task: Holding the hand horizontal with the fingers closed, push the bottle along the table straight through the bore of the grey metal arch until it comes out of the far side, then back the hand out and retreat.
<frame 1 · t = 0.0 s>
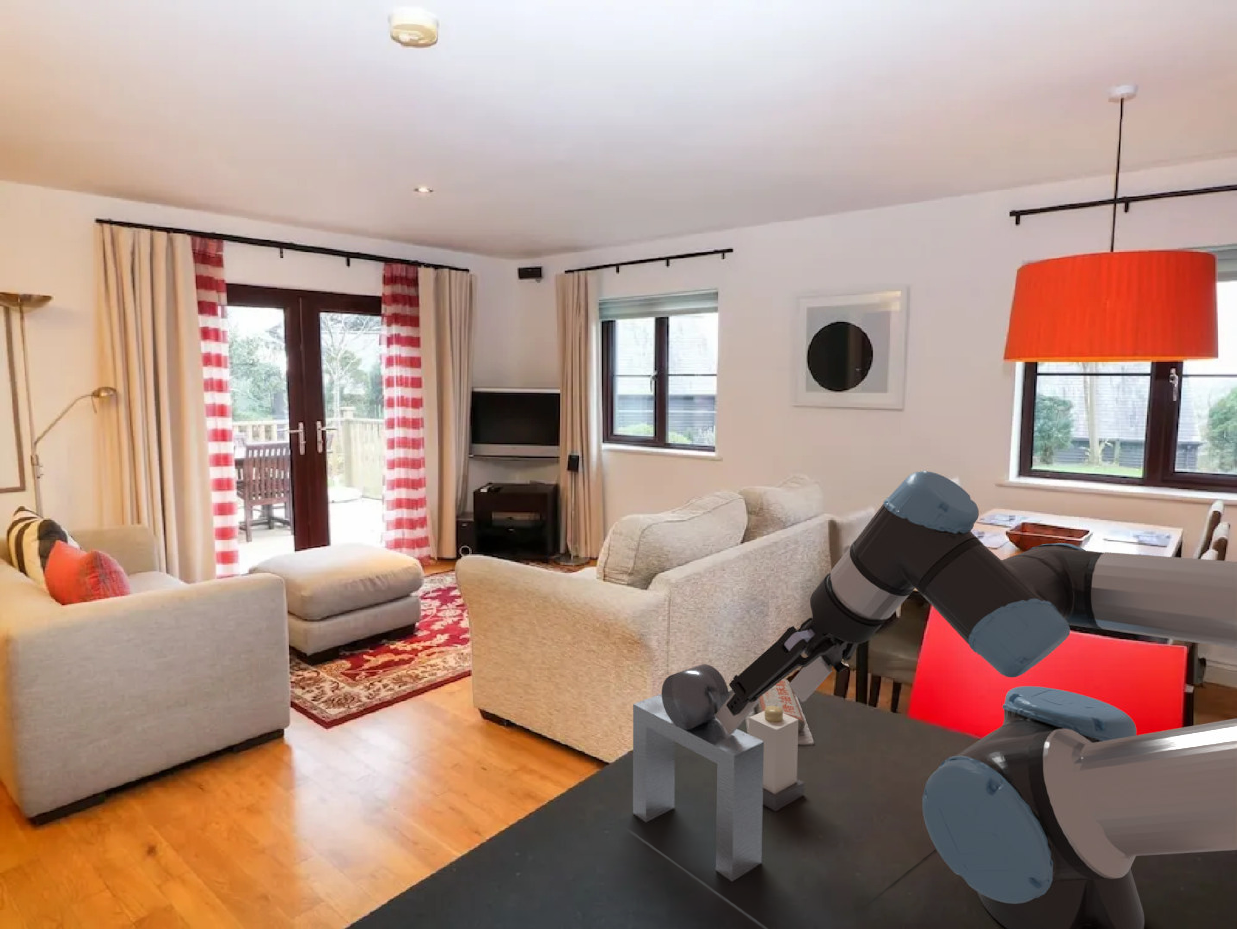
hand: (761, 708, 90), 16 cm above the table, tool tilted 35°, fingers open, 13 cm apart
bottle: (772, 751, 99), point 6 cm above the table, slide at 0.0 cm
packaged product: (774, 723, 122), on the table
grey metal arch: (693, 838, 90), on the table
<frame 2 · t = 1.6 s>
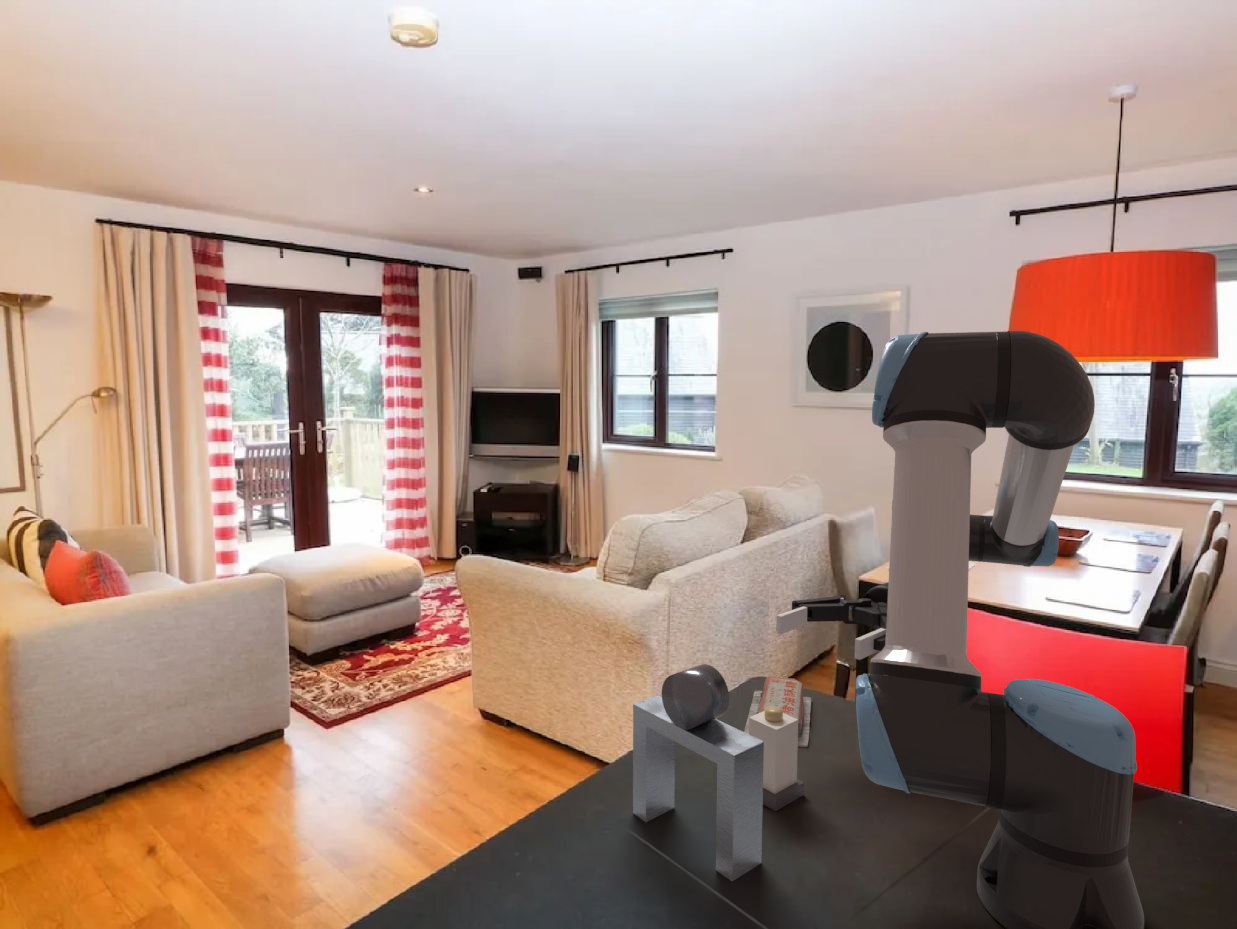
hand: (815, 636, 103), 20 cm above the table, tool horizontal, fingers open, 12 cm apart
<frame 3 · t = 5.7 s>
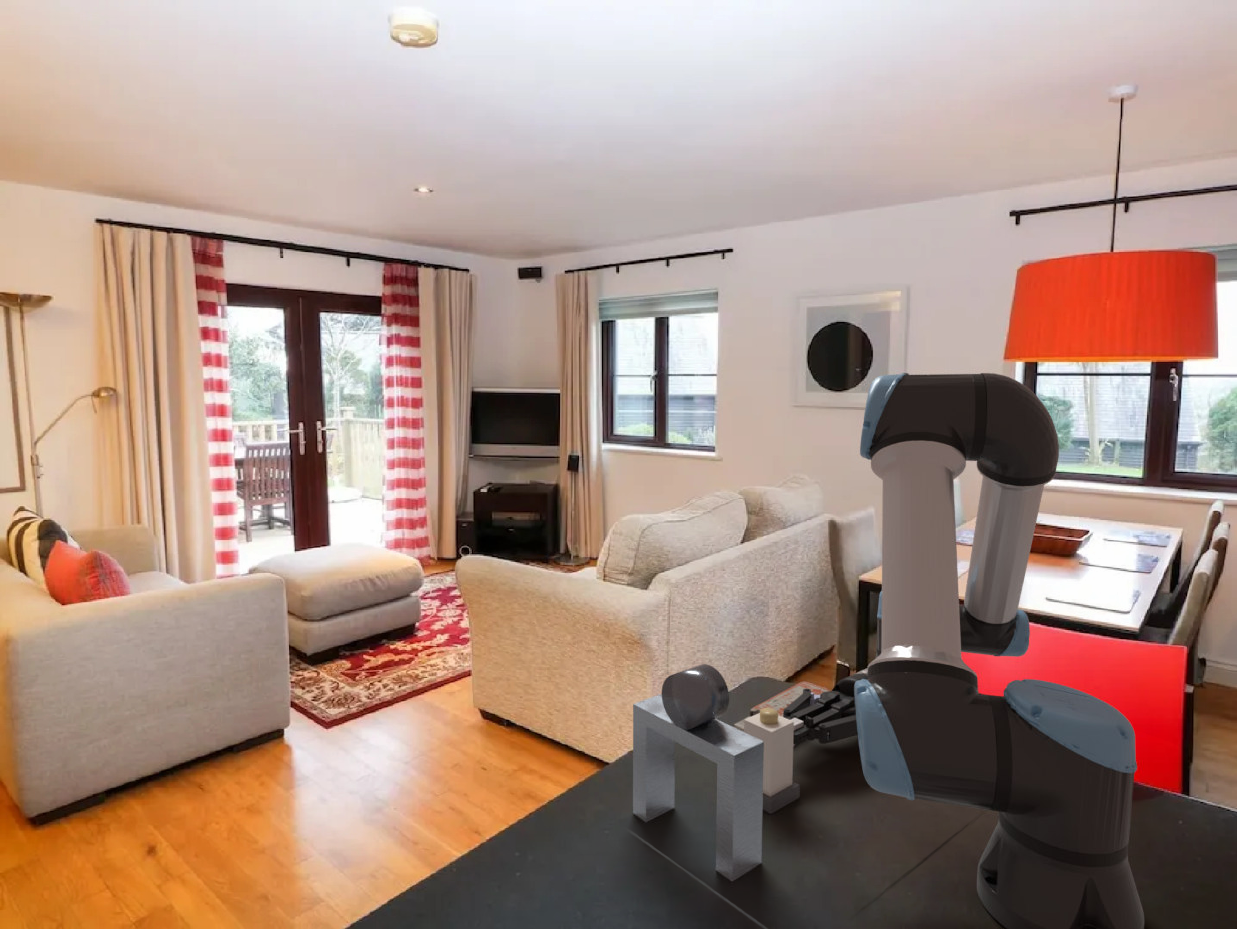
hand: (769, 742, 101), 6 cm above the table, tool horizontal, fingers closed
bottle: (768, 754, 98), point 6 cm above the table, slide at 1.0 cm, touching gripper
packaged product: (790, 727, 121), on the table
everything else where it was.
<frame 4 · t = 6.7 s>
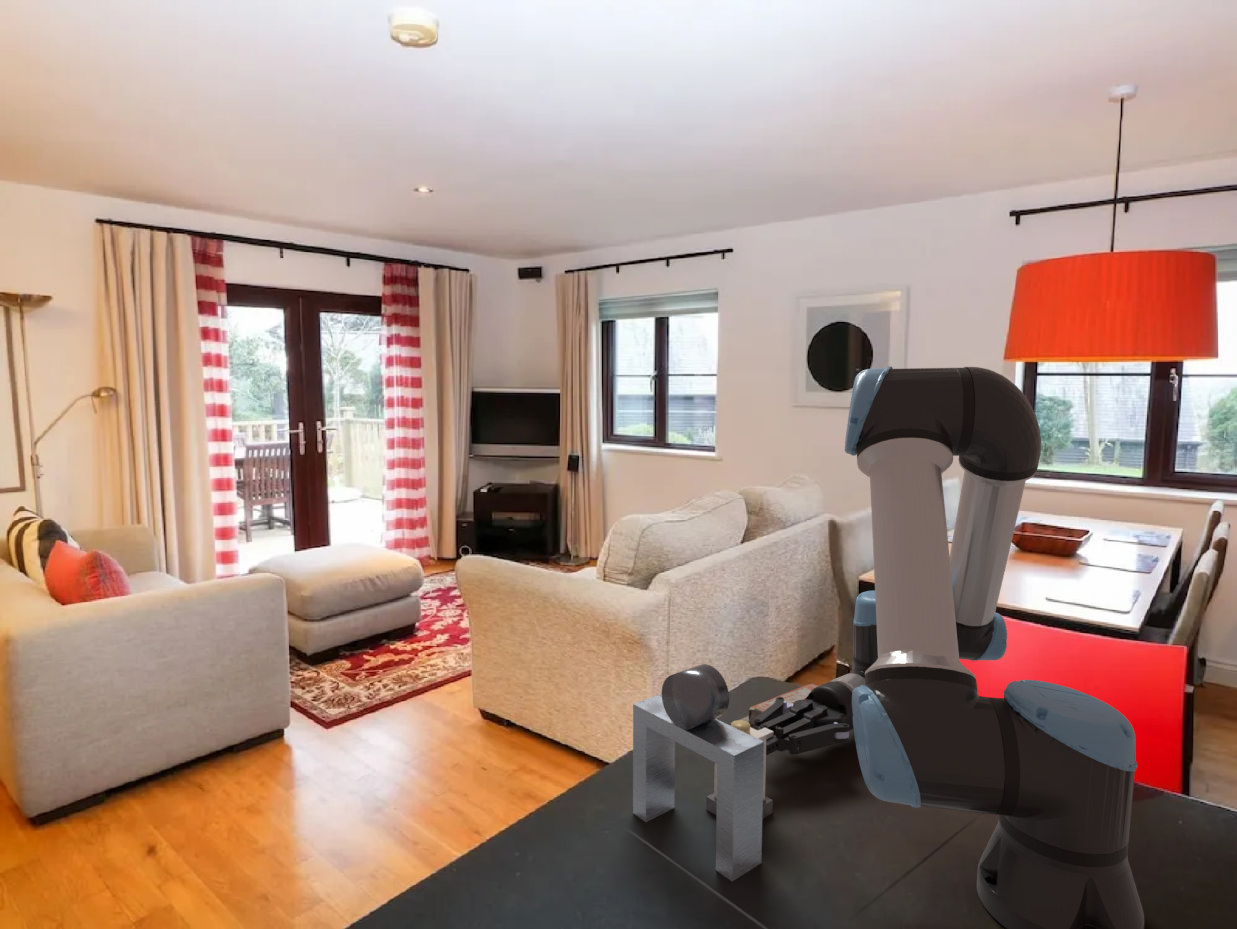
hand: (737, 753, 98), 6 cm above the table, tool horizontal, fingers closed
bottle: (739, 768, 94), point 6 cm above the table, slide at 6.7 cm, touching gripper
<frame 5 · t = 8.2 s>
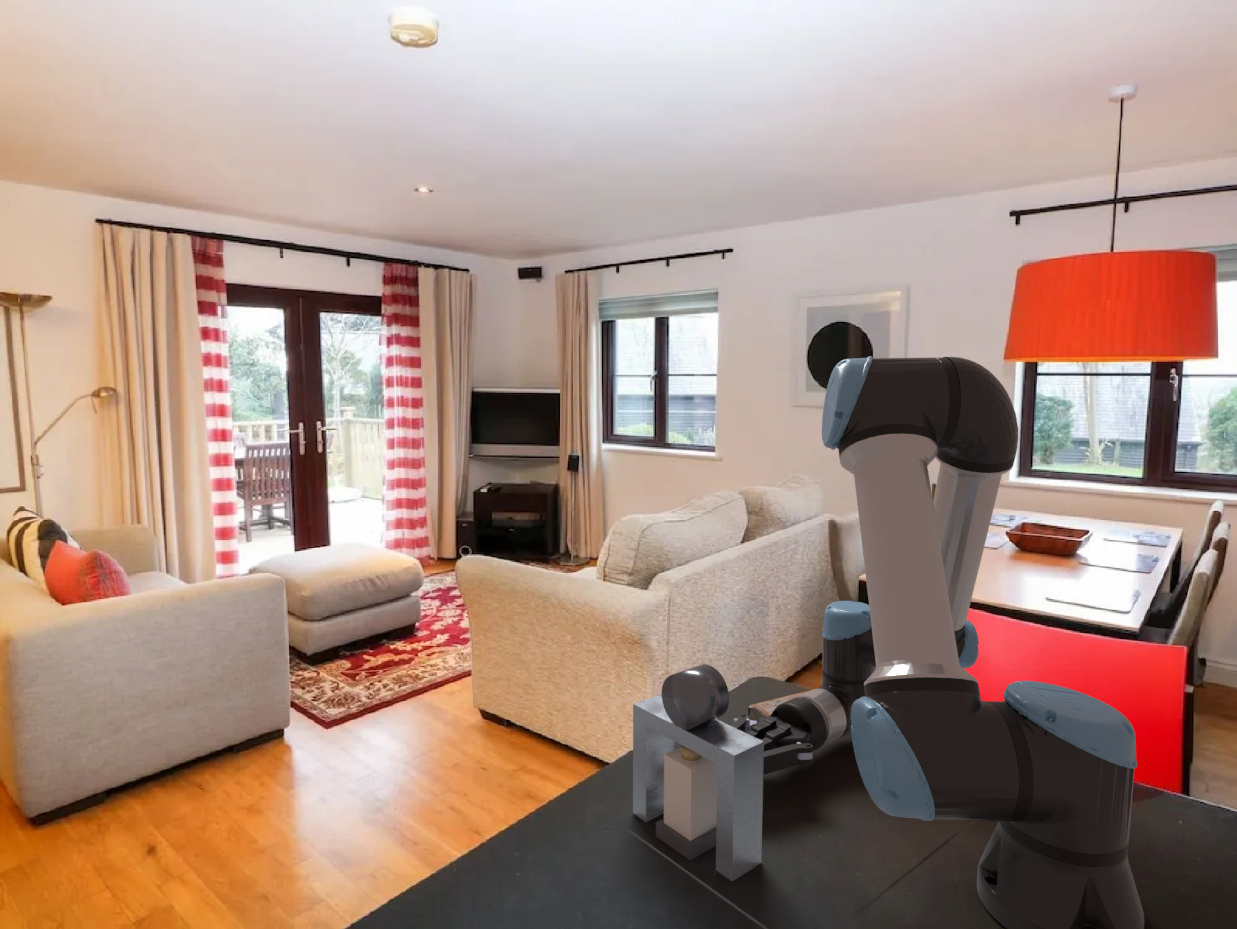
hand: (691, 776, 92), 6 cm above the table, tool horizontal, fingers closed
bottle: (690, 792, 89), point 6 cm above the table, slide at 15.6 cm
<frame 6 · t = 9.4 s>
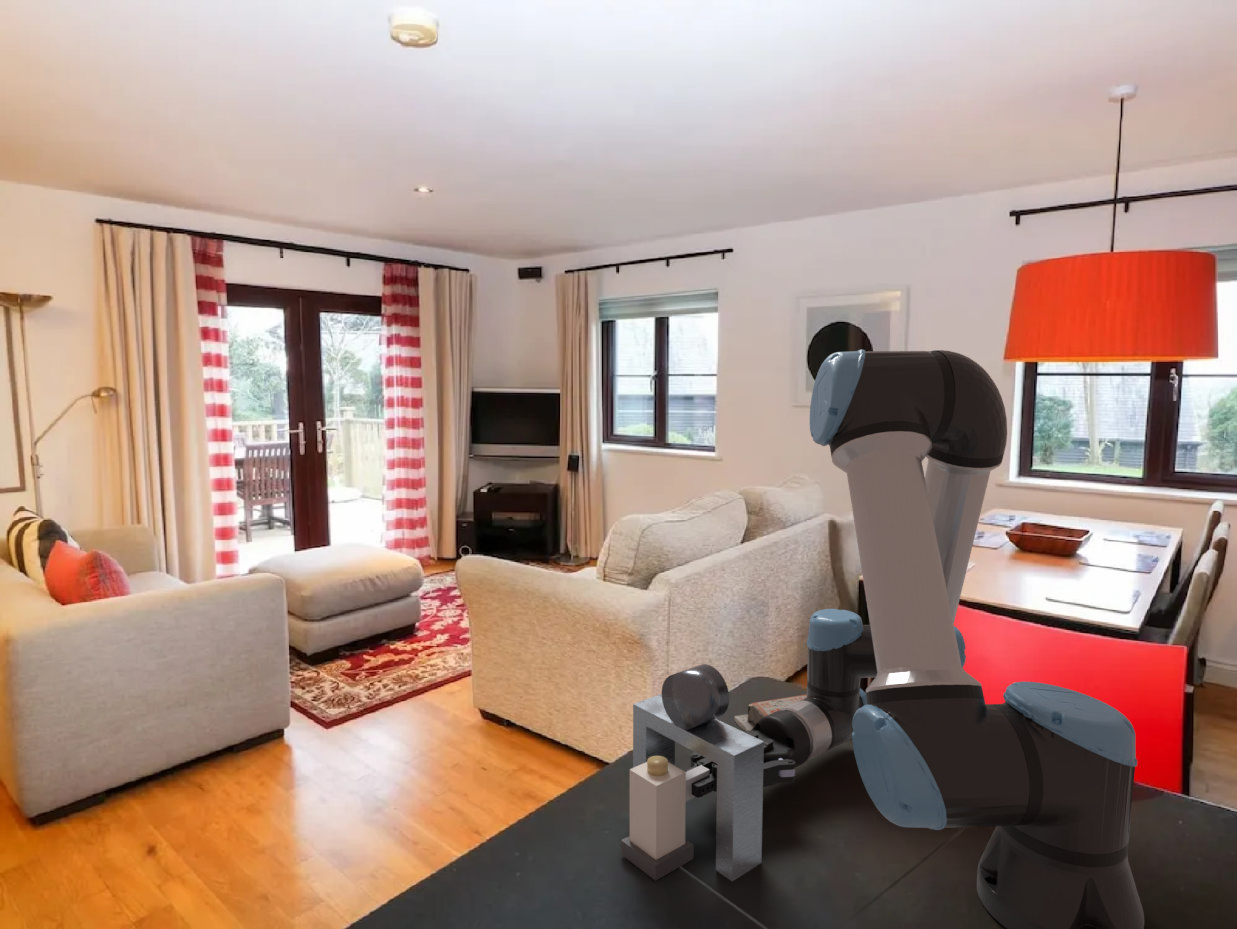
hand: (667, 795, 88), 6 cm above the table, tool horizontal, fingers closed
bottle: (657, 809, 85), point 6 cm above the table, slide at 21.1 cm, touching gripper
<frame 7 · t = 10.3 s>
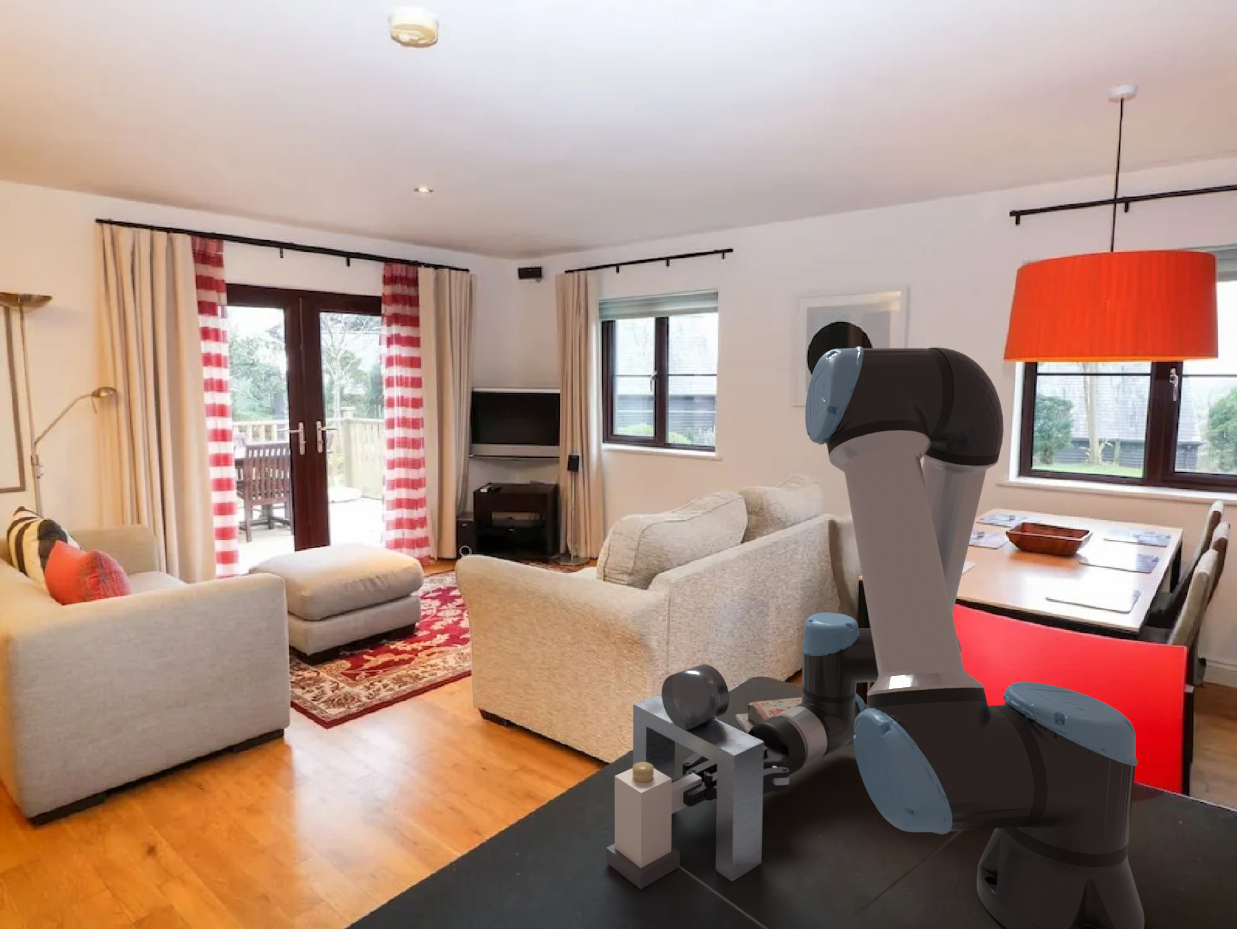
hand: (658, 805, 86), 6 cm above the table, tool horizontal, fingers closed
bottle: (643, 816, 84), point 6 cm above the table, slide at 23.3 cm
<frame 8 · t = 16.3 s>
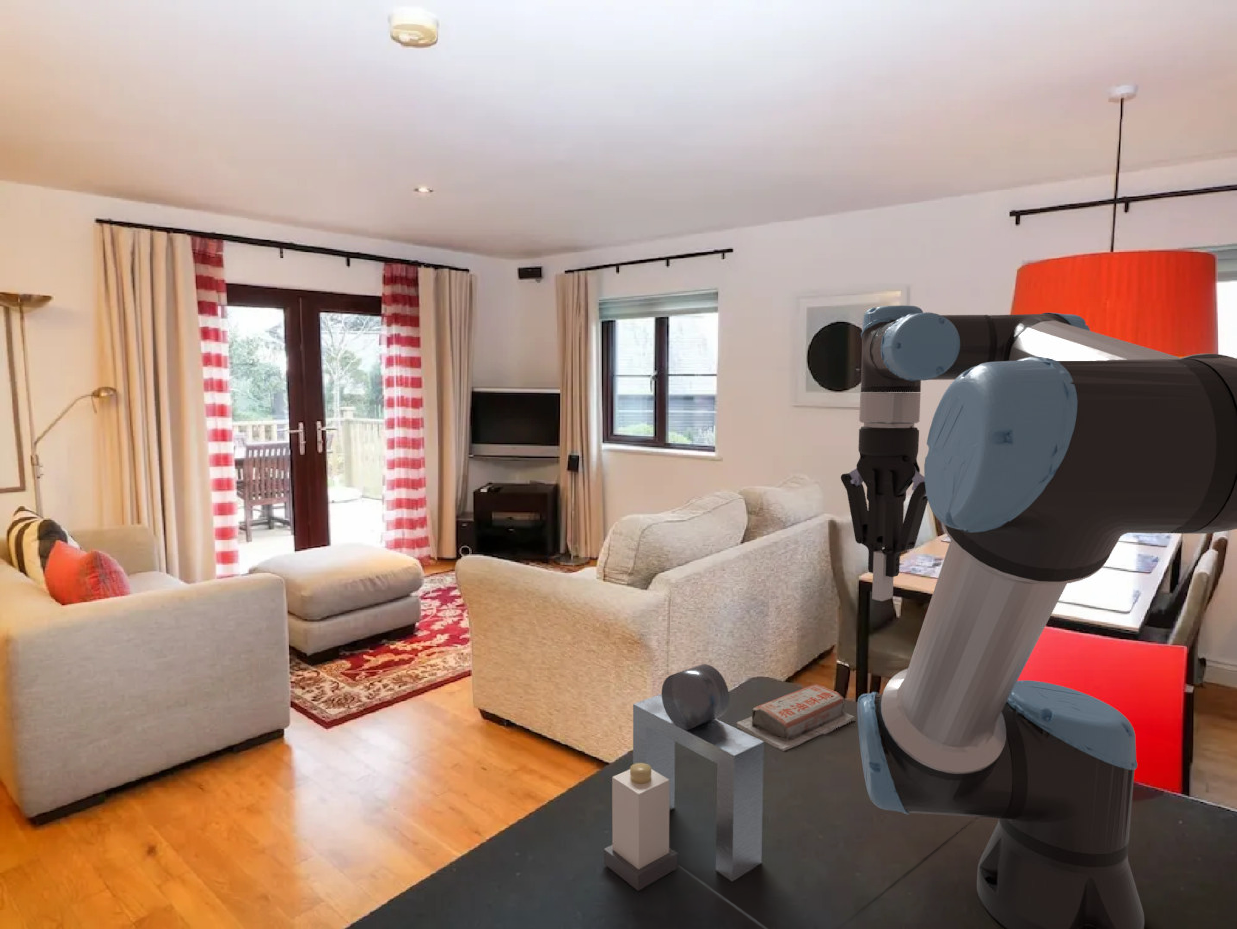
hand: (882, 598, 100), 26 cm above the table, tool pointing down, fingers closed
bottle: (640, 817, 84), point 6 cm above the table, slide at 23.6 cm
packaged product: (796, 728, 120), on the table
everything else where it was.
at the end: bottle slide at 23.6 cm; the gripper is holding nothing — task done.
